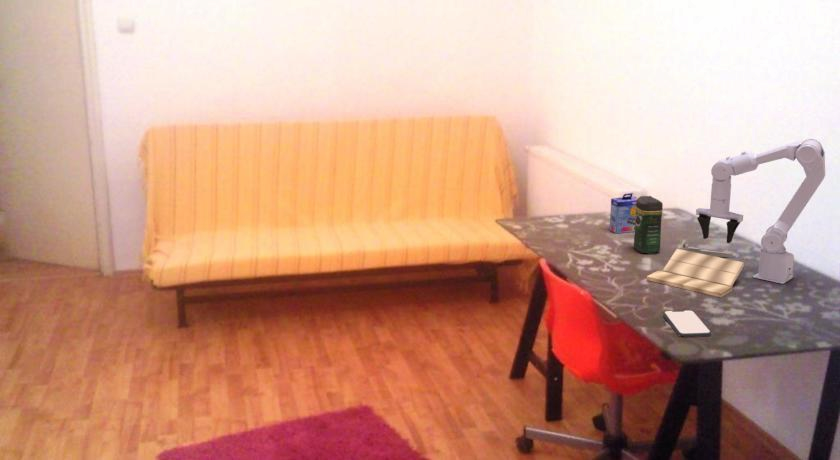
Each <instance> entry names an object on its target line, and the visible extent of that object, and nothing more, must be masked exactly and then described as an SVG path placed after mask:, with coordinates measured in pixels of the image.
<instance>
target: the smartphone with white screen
mask: <svg viewBox="0 0 840 460" xmlns="http://www.w3.org/2000/svg"><path fill="white" fill-rule="evenodd" d="M662 316H663V318H664V319H665V321H666V320H667V321H668V322H667V321H666V322H667V324H669V326H670V325H671V326H672V327H671V326H670V327H671V329H672V330H673V331H674V330H675V331H676V332H675V331H674V332H675V333H676V335H680V336H683V337H682V338H695V337H694V336H701V337H700V338H709V337H711V336H712V331H711V330H710V329H709V327H708V326H707V325H706V324H705V323H704V321H703V320H702V319H701V318H700V317H699V316H698V315H697V314H696V312H695V311H694V310H690V309H688V310H687V309H686V310H665V311H663V312H662ZM680 336H679V337H680ZM690 336H691V337H690ZM708 336H709V337H708Z"/></svg>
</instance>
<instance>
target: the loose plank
mask: <svg viewBox="0 0 840 460" xmlns="http://www.w3.org/2000/svg"><path fill="white" fill-rule="evenodd" d="M744 266H745V263H744V261H738V260H734V259H729V258H725V257H718V256H710V255H705V254H700V253H695V252H690V251H685V250H681V249H680V248H676V249H675V251H674V252H673V254H672V256H671V257H670V258H669V260H668V261H667V263H666V265H665V266H664V268H663V271H667V272H672V273H676V274H681V275H685V276H690V277H694V278H699V279H703V280H707V281H712V282H716V283H721V284H725V285H730V286H734V283H735V282H736V280H737V279H738V277H739V276H740V273H741V272H742V271H743V268H744Z"/></svg>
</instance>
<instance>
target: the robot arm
mask: <svg viewBox="0 0 840 460" xmlns="http://www.w3.org/2000/svg"><path fill="white" fill-rule="evenodd" d="M825 156H826V152H825V150H824V148H823V145H822V143H821V142H820V141H818V139H815V138H808V139H805V140H803V141H802V140H798V141H794V142H790V143H785V144H784V145H780V146H778V147H774V148H771V149H769V150H768V149H767V150H766V151H763V152H759V153H754V152H752V151H748V152H747V151H746V150H745V151H741V153H740V154H739V155H735V156H732V157H730V156H727V157H726V158H725V159H723V158H722V159H719V160H718V161H717V162H715V163H714V165H712V167H711V169H710V173H711V175H712V182H711V190H710V202H709V208H705V207H704V208H703V207H702V208H701V207H698V208H695V215H696V216H698V217H697V221H698V223H699V225H700V228H701V232H702V236H703V239H704V240H706V239H708V238H709V234H710V224H711V219H712V218H716V219H723V220H726V221H727V220H729V221H727V222H726V231H727V232H726V233H727V235H726V244H731V243H732V241H733V238H734V235H735V233H736V231H737V229H738V227H739V225H740V224H741V223H742V222H744V214H739V213H736V212H732V211H730V206H731V205H730V204H731V191H732V176H739V175H743V174H745V173H749V172H752V171H753V172H754V171H756V170H757V168H758V166H759V165H762V164H766V163H770V162H774V161H778V160H782V159H787V160H790V161H793V162H794V161H795V160H796V161H797V162H798V163H799V164H800V165H801V167H802V168H803V172H804V174H805V178H804V180H803V181H802V182H801V184H800V185H799V187H798V189H797V190H796V192H795V193H794V195H792V198H791V199H790V201H789V202H788V204H787V205H786V207H785V208H784V210H783V211H782V213H781V214H780V216H779V217H778V218H777V220H776V222H775V223H774V224H773V225H771V226H769V227H768V228H767V229H766V231H765V234H764V235H762V237H761V239H760V244H761V246H760V250H759V251H760V252H759V263H758V272H757V273H756V274H754V275H753V276H752V277H753V278H755V279H759V280H764V281H768V282H772V283H778V284H785V283H786V282H788V281H790V280H791V279H793V278H794V275H793V272H794V262H795V256H794V253H791V252H789V251H787V248H786V247H785V242H786V241H787V239H788V233H789V231H790V230H791V229H792V226H794V224H795V222H796V221H797V219H798V218H799V216H800V215H801V213H802V212H803V210H804V209H805V207H806V206H807V205H808V203H809V201H810V200H811V199H812V197H813V195H814V194H815V193H816V191H817V190H818V188H819V187H820V185H821V184H822V182H823V181H824V179H825V177H826V157H825Z"/></svg>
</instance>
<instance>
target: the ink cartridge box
mask: <svg viewBox="0 0 840 460" xmlns="http://www.w3.org/2000/svg"><path fill="white" fill-rule="evenodd" d="M633 194H634V193H633V192H631V193H624V194H623V195H622V197H614V198H611V199H610V215H609V216H610V217H609V231H611V232H613V233H614V234H621V233H622V234H624V233H625V234H626V233H635V224H636V201H637V199H638V198H639V197H636V196H633Z"/></svg>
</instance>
